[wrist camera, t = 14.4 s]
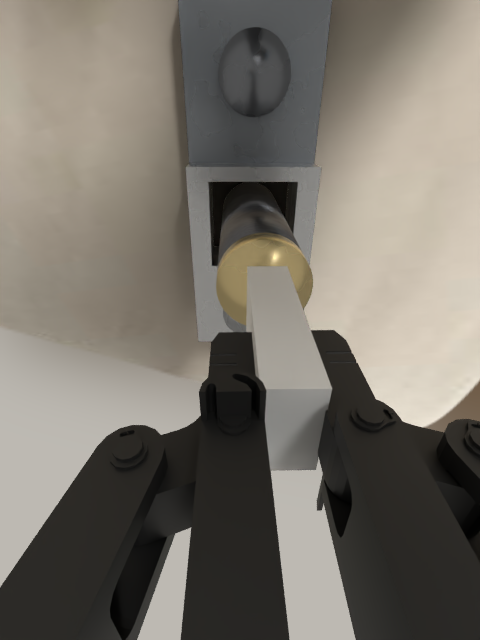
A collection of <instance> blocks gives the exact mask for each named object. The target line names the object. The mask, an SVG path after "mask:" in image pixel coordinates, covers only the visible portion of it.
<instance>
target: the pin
mask: <svg viewBox="0 0 480 640" xmlns="http://www.w3.org/2000/svg"><path fill="white" fill-rule="evenodd" d="M247 266H287V267H288V270H289V272H290V275H291V278H292V281H293V283H294V286H295V289H296V291H297V294H298V297H299V300H300V302H301V305H302V308H304V307H305V305H306V304H307V302H308V300H309V298H310V295H311V292H312V287H313V277H312V272H311V269H310V266H309V264H308V262H307V260H306V258H305V256H304V254H303V252H302V251H301V249H300V247H299V245H298V243H297V241H296V239H295V237H294V235H293V233H292V231H291V229H290V227H289V225H288V223H287V221H286V220H285V218H284V216H283V214H282V212H281V210H280V208H279V206H278V204H277V202H276V200H275V198H274V196H273V195H272V193H271V192H270V191H269V190H268V189H267V188H266V187H265V186H263V185H261V184H259V183H255V182H245V183H242V184H239V185H237V186H235V187H234V188H233V189H232V190H231V191H230V192H229V193H228V195H227V196H226V198H225V201H224V204H223V212H222V224H221V235H220V246H219V257H218V268H217V280H216V292H217V297H218V300H219V302H220V304H221V306H222V308H223V309H224V311H225V312H226V313H227V314H228V315H229V316H230V317H231V318H233V319H234V320H235V321H237V322H239V323H241V324H243V325H246V313H247Z"/></svg>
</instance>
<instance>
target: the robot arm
mask: <svg viewBox="0 0 480 640" xmlns="http://www.w3.org/2000/svg"><path fill="white" fill-rule="evenodd" d="M199 397H200V410H201V416H200V417H199V418H198V419H197V420H196V421H195V422H194V423H192V424H190V425H189V426H187V427H185V428H182V429H180V430H177V431H174V432H170V433H167V434H163V435H160V434H159V433H158V432H157V431H156V430H155V429H153V428H150V427H148V426H145V425H131V426H128V427H124V428H120V429H118V430H117V431H115V432H113V433H111V434H110V435H108V436H107V437H106V438H105V439H104V440H103V441H102V442H101V443H100V444H99V445H98V446H97V448H96V449H95V451H94V452H93V454H92V455H91V457H90V458H89V460H88V461H87V462H86V464H85V465H84V467H83V468H82V470H81V471H80V472H79V474H78V475H77V477H76V478H75V480H74V481H73V483H72V484H71V485H70V487H69V489H68V490H67V491H66V493H65V494H64V496H63V497H62V499H61V500H60V501H59V503H58V505H57V506H56V507H55V509H54V510H53V512H52V513H51V515H50V516H49V517H48V519H47V520H46V522H45V523H44V525H43V526H42V528H41V529H40V530H39V532H38V534H37V535H36V536H35V538H34V539H33V541H32V542H31V544H30V545H29V546H28V548H27V549H26V551H25V552H24V554H23V555H22V557H21V558H20V559H19V561H18V563H17V564H16V565H15V567H14V568H13V570H12V571H11V573H10V574H9V575H8V577H7V578H6V580H5V581H4V583H3V584H2V586H1V587H0V640H137V638H138V635H139V633H140V630H141V627H142V624H143V622H144V619H145V616H146V613H147V610H148V608H149V605H150V602H151V599H152V597H153V594H154V591H155V588H156V585H157V583H158V580H159V577H160V574H161V572H162V569H163V566H164V563H165V560H166V557H167V555H168V552H169V549H170V547H171V544H172V541H173V538H174V535H175V533H178V532H180V531H182V530H185V529H188V528H190V527H191V537H190V548H189V559H188V570H187V579H186V590H185V600H184V611H183V622H182V633H181V640H289V632H288V622H287V614H286V605H285V597H284V587H283V578H282V569H281V561H280V551H279V542H278V534H277V525H276V516H275V507H274V498H273V489H272V480H271V471H272V470H316V466H317V462H318V457H319V460H320V464H321V468H322V471H323V476H322V481H321V485H320V489H319V494H318V498H317V510H322V507H323V503H324V506H325V510H326V515H327V519H328V523H329V527H330V532H331V536H332V540H333V545H334V549H335V553H336V557H337V562H338V566H339V570H340V574H341V579H342V582H343V587H344V591H345V596H346V600H347V604H348V608H349V612H350V617H351V621H352V625H353V629H354V634H355V638H356V640H480V422H479V421H475V420H470V419H460V420H455V421H453V422H451V423H449V424H448V426H447V428H446V430H445V432H444V433H443V432H439V431H435V430H431V429H427V428H422V427H418V426H414V425H411V424H408V423H405V422H403V421H402V420H401V419H400V417H399V416H398V415H397V414H396V412H395V411H394V410H393V409H392V408H390V407H389V406H388V405H386V404H385V403H383V402H381V401H379V400H376V399H375V397H374V395H373V393H372V391H371V389H370V387H369V385H368V383H367V381H366V379H365V377H364V375H363V373H362V371H361V369H360V367H359V365H358V363H356V359H355V357H354V355H353V354H352V353H351V349H350V347H349V345H348V343H347V341H346V340H345V339H344V338H343V337H342V336H340V335H339V334H338V333H337V332H336V331H334V330H310V327H309V324H308V321H307V319H306V316H305V313H304V310H303V308H302V305H301V302H300V300H299V297H298V294H297V291H296V289H295V286H294V283H293V281H292V278H291V275H290V272H289V270H288V267H287V266H247V313H246V332H219V333H218V334H217V336H216V337H215V338H214V339H213V341H212V342H211V352H210V366H209V375H208V378H207V379H206V380H205V381H204V382H203V383H202V386H201V389H200V391H199Z"/></svg>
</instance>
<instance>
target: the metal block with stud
mask: <svg viewBox="0 0 480 640" xmlns="http://www.w3.org/2000/svg"><path fill="white" fill-rule="evenodd" d="M178 5H179V19H180V34H181V49H182V64H183V78H184V93H185V108H186V123H187V138H188V152H189V164H188V165H187V166H186V180H187V194H188V207H189V221H190V235H191V248H192V262H193V276H194V289H195V303H196V317H197V330H198V342H204V341H213V339H214V338H215V337H216V336H217V334H218V333H219V332H246V325H243V324H241V323H239V322H237V321H235V320H234V319H233V318H231V317H230V316H229V315H228V314H227V313H226V312H225V311H224V309H223V308H222V306H221V304H220V302H219V300H218V297H217V292H216V280H217V268H218V257H219V246H214V221H213V194H212V182H288V185H287V198H286V212H285V220H286V221H287V223H288V225H289V227H290V229H291V231H292V233H293V235H294V237H295V239H296V241H297V243H298V245H299V247H300V249H301V251H302V252H303V254H304V256H305V258H306V260H307V262H308V264H309V265H310V256H311V248H312V240H313V232H314V224H315V215H316V207H317V199H318V191H319V182H320V174H321V167H320V166H318V165H316V164H315V163H314V160H315V151H316V142H317V133H318V124H319V115H320V106H321V97H322V88H323V79H324V70H325V61H326V52H327V43H328V34H329V25H330V16H331V7H332V0H178ZM303 310H304V308H303Z"/></svg>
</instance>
